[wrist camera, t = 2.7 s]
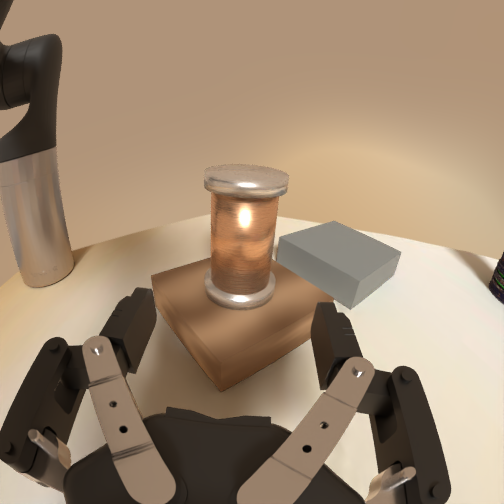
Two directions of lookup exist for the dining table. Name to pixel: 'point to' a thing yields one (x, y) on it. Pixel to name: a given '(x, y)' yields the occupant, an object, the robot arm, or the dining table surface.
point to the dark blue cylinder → (498, 281)
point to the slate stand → (338, 261)
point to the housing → (242, 233)
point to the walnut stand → (236, 321)
